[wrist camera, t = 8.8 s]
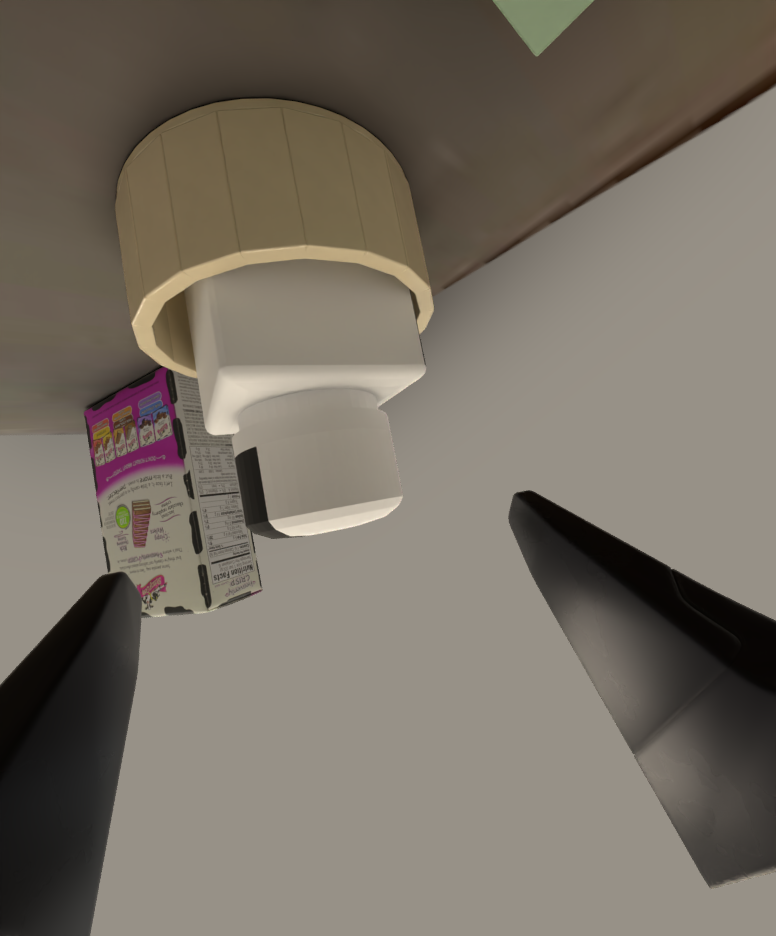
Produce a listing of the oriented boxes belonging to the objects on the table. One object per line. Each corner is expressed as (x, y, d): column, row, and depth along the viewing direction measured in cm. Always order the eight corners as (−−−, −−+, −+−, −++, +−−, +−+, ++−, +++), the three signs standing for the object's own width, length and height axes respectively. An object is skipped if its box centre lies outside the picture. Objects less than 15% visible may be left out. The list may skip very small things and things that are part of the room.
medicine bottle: (331, 294, 22) (373, 518, 21) (181, 282, 18) (222, 549, 17) (394, 192, 15) (459, 507, 14) (184, 144, 12) (249, 552, 11)
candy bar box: (145, 415, 36) (172, 601, 35) (81, 409, 32) (108, 622, 30) (230, 375, 31) (266, 594, 29) (167, 361, 26) (205, 617, 25)
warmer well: (166, -2, 9) (196, 186, 9) (467, 195, 17) (490, 298, 16) (92, 273, 17) (106, 376, 17) (318, 319, 25) (331, 391, 24)
